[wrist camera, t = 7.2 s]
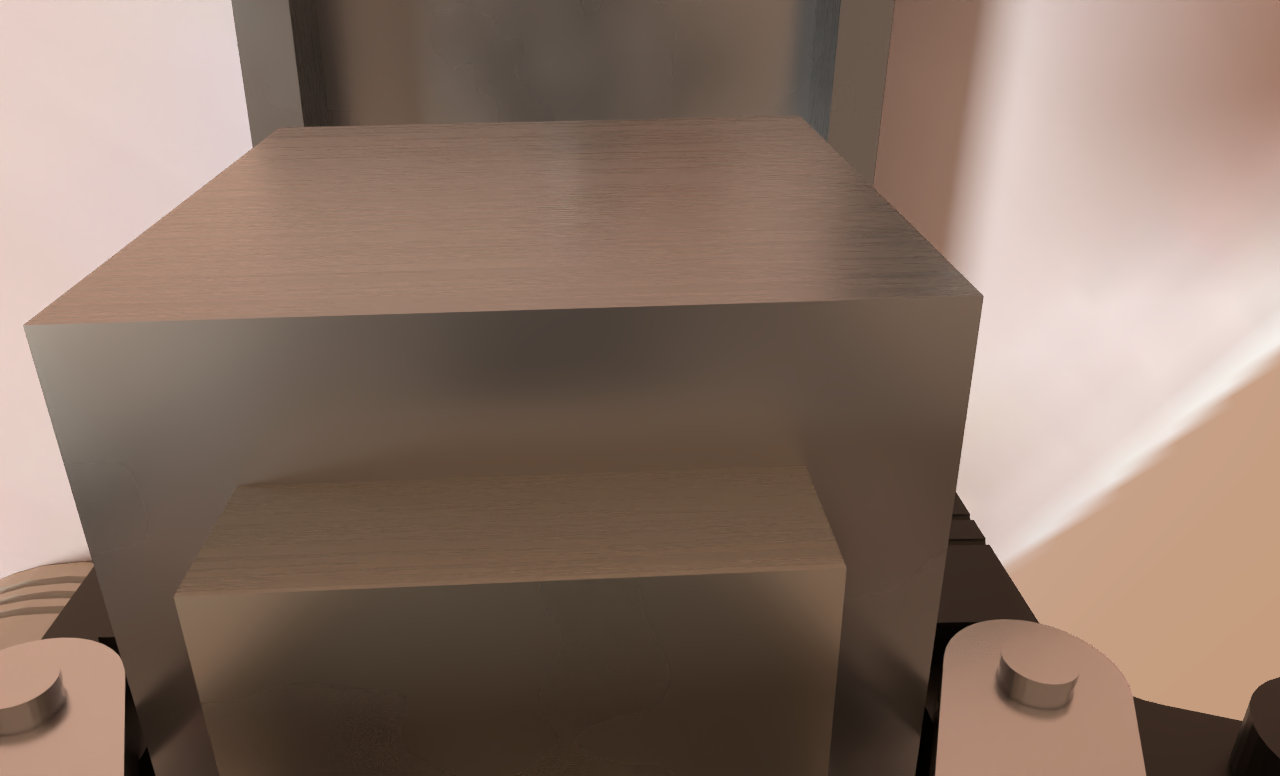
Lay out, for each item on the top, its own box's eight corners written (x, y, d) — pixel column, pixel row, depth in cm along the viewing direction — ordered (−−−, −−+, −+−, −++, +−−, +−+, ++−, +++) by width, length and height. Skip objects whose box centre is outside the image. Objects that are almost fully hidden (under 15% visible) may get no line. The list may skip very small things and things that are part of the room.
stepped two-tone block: (279, 126, 10) (-94, 413, 4) (800, 116, 10) (1063, 374, 5) (381, 753, 13) (245, 1346, 8) (765, 734, 13) (892, 1298, 8)
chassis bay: (239, -248, 19) (192, -268, 16) (882, -230, 19) (924, -248, 17) (337, 503, 26) (313, 564, 23) (807, 496, 26) (829, 555, 24)
